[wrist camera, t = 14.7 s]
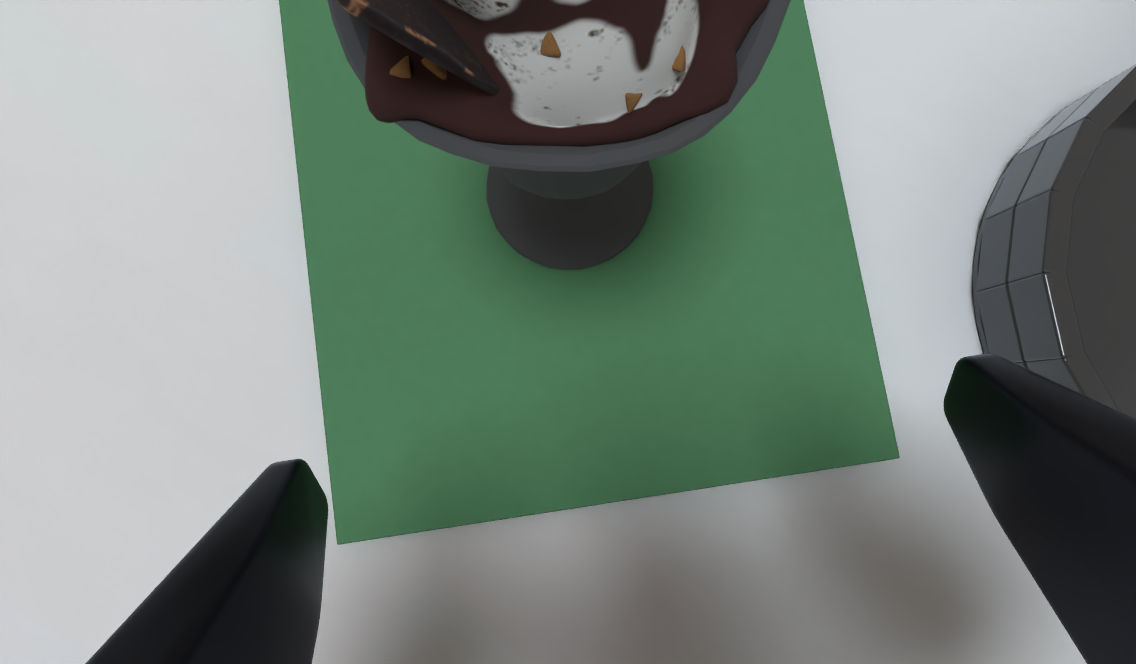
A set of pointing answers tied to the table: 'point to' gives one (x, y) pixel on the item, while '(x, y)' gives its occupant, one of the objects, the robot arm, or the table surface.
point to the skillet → (1067, 250)
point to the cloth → (578, 314)
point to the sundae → (559, 99)
